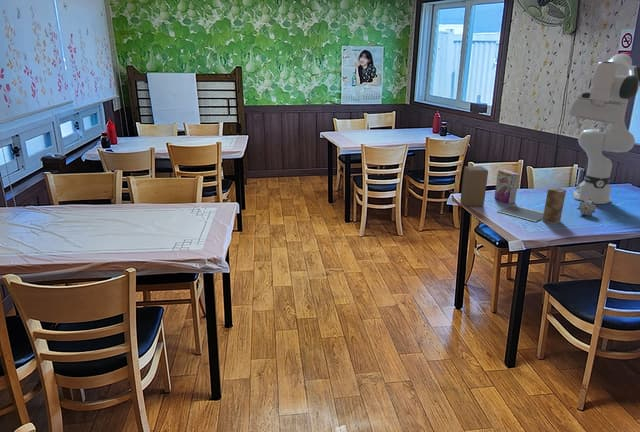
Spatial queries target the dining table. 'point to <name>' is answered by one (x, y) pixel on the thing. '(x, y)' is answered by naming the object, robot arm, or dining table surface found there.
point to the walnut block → (554, 205)
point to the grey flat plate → (522, 213)
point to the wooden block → (474, 186)
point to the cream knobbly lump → (587, 207)
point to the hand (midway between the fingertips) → (589, 129)
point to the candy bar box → (506, 186)
